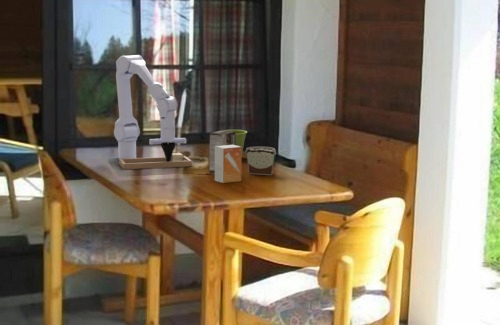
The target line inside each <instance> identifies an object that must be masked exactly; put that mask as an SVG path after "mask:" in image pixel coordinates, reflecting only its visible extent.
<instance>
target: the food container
mask: <svg viewBox="0 0 500 325" xmlns="http://www.w3.org/2000/svg"><path fill="white" fill-rule="evenodd" d="M244 153H245V154H246V160H247V169H248V170H247V172H248V174H250V175H261V176H263V175H265V176H273V172H274V164H275V156H276V155H277V151H276V149H275V148H274V147H271V146H250V147H246V149H245V151H244Z"/></svg>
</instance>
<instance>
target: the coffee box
mask: <svg viewBox="0 0 500 325" xmlns="http://www.w3.org/2000/svg"><path fill="white" fill-rule="evenodd" d="M227 130H228V129H223V130H218V131H213V132H209V174H210V175H215V146H223V145H236V137H235V132H234V131H227Z"/></svg>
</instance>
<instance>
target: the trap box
mask: <svg viewBox="0 0 500 325" xmlns="http://www.w3.org/2000/svg"><path fill="white" fill-rule="evenodd" d="M118 160H119V162H118V163H119V166H120V167H121V168H122V169H123V170H133V169H135V170H136V169H159V168H176V167H177V168H178V167H192V166H193V164H192V163H193V160H192V159H190V158H189V157H187V156H186V155H183V161H171V160H170V161H169V162H166V157H165V156H159V157H158V156H155V157H136V158H128V159H119V158H118Z"/></svg>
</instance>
